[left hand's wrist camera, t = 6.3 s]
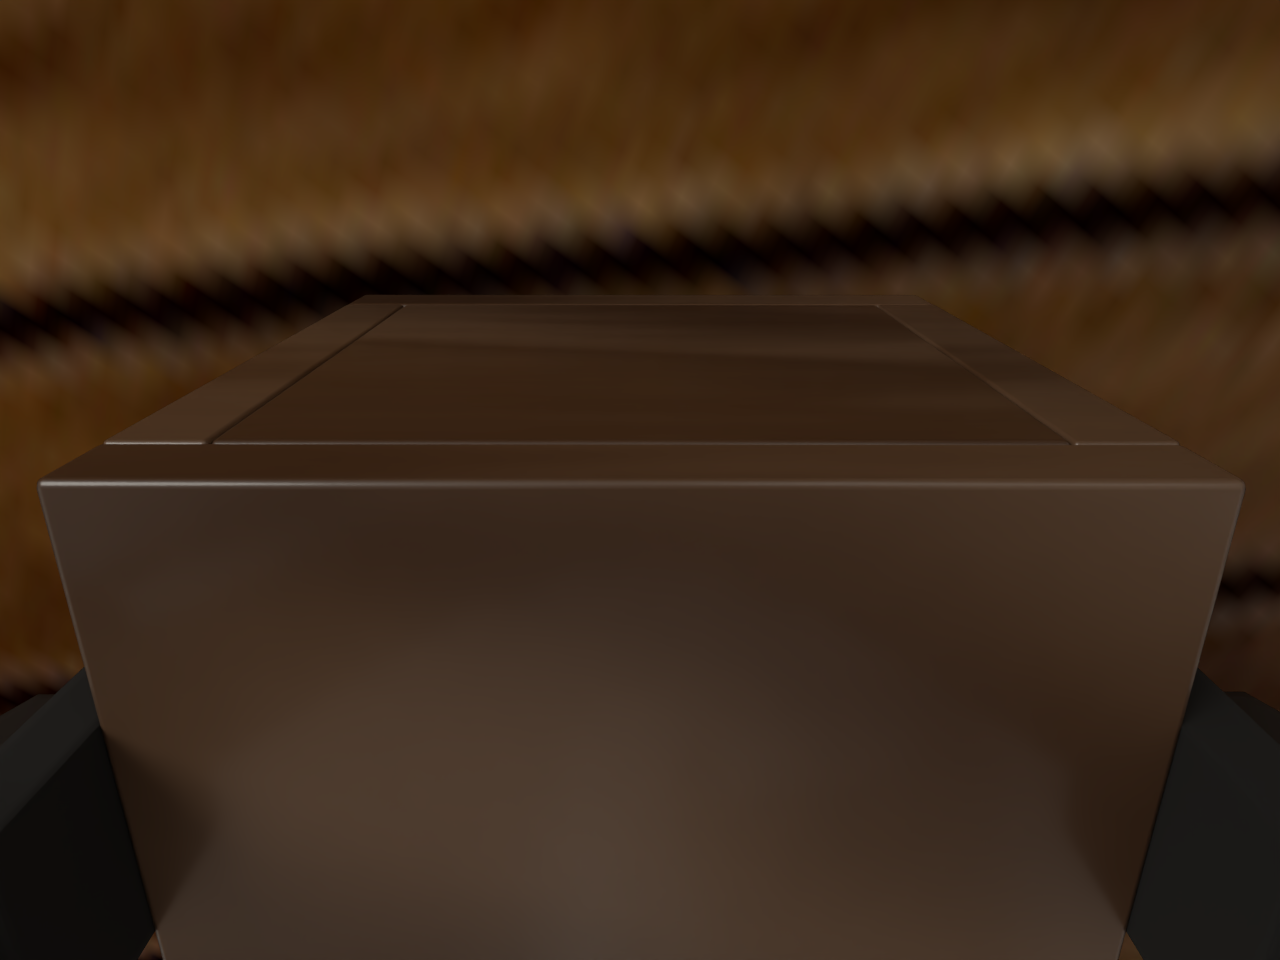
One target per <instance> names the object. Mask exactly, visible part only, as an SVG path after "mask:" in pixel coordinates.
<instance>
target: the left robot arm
mask: <svg viewBox="0 0 1280 960" xmlns="http://www.w3.org/2000/svg"><path fill="white" fill-rule="evenodd" d="M154 932H155V927H154V924H153V920H152V916H151V913H150V909H149V905H148V901H147V898H146V894H145V890H144V886H143V883H142V879H141V875H140V872H139V868H138V864H137V860H136V857H135V853H134V849H133V845H132V842H131V838H130V834H129V831H128V827H127V823H126V819H125V816H124V812H123V808H122V804H121V801H120V797H119V793H118V790H117V786H116V782H115V778H114V775H113V771H112V767H111V763H110V760H109V756H108V752H107V749H106V745H105V741H104V737H103V734H102V730H101V726H100V722H99V719H98V715H97V711H96V708H95V704H94V700H93V696H92V693H91V689H90V685H89V681H88V678H87V674H86V670H85V667H84V668H83V669H81V670H80V671H79V672H78V673H77V674H76V675H75V676H74V677H73V678H72V679H71V680H70V681H69V682H68V683H67V684H66V685H65V686H63V687H62V688H61V689H60V690H59V691H58V692H57V693H56V694H55V695H36V696H35V697H33V698H31V699H29V700H28V701H26V702H24V703H22V704H20V705H19V706H17V707H15V708H13V709H12V710H10V711H8V712H6V713H5V714H3V715H1V716H0V960H137V959H138V958H139V956H140V954H141V953H142V951H143V950H144V948H145V946H146V945H147V943H148V941H149V940H150V938H151V937H152V935H153V933H154ZM1126 932H1127V933H1128V935H1129V937H1130V938H1131V940H1132V942H1133V943H1134V945H1135V946H1136V948H1137V950H1138V951H1139V953H1140V955H1141V956H1142V958H1143V959H1144V960H1280V712H1279V711H1277V710H1275V709H1274V708H1272V707H1270V706H1268V705H1267V704H1265V703H1263V702H1261V701H1259V700H1258V699H1256V698H1254V697H1252V696H1251V695H1249V694H1247V693H1245V692H1223V691H1222V690H1221V689H1220V688H1219V687H1218V686H1216V685H1215V684H1214V683H1213V682H1212V681H1211V680H1210V679H1209V678H1208V677H1207V676H1206V675H1205V674H1204V673H1203V672H1202V671H1201V670H1200V669H1198V668H1197V671H1196V674H1195V678H1194V682H1193V685H1192V689H1191V693H1190V697H1189V700H1188V704H1187V708H1186V711H1185V715H1184V719H1183V722H1182V726H1181V730H1180V733H1179V737H1178V741H1177V744H1176V748H1175V752H1174V756H1173V759H1172V763H1171V767H1170V770H1169V774H1168V778H1167V781H1166V785H1165V789H1164V792H1163V796H1162V800H1161V804H1160V807H1159V811H1158V815H1157V818H1156V822H1155V826H1154V829H1153V833H1152V837H1151V840H1150V844H1149V848H1148V851H1147V855H1146V859H1145V863H1144V866H1143V870H1142V874H1141V877H1140V881H1139V885H1138V888H1137V892H1136V896H1135V899H1134V903H1133V907H1132V911H1131V914H1130V918H1129V922H1128V925H1127V929H1126Z"/></svg>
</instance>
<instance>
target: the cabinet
mask: <svg viewBox="0 0 1280 960" xmlns="http://www.w3.org/2000/svg"><path fill="white" fill-rule="evenodd" d="M1245 490H1246V489H1245V483H1244V481H1243V480H1242V479H1240V478H1238V477H1236V476H1234V475H1233V474H1231V473H1229V472H1227V471H1226V470H1224V469H1222V468H1220V467H1219V466H1217V465H1215V464H1213V463H1211V462H1210V461H1208V460H1206V459H1204V458H1203V457H1201V456H1199V455H1197V454H1195V453H1194V452H1192V451H1190V450H1188V449H1187V448H1185V447H1182V446H1180V445H1179V443H1178V441H1176V440H1174V439H1172V438H1170V437H1169V436H1167V435H1165V434H1163V433H1162V432H1160V431H1158V430H1156V429H1154V428H1153V427H1151V426H1149V425H1147V424H1145V423H1144V422H1142V421H1140V420H1138V419H1137V418H1135V417H1133V416H1131V415H1129V414H1128V413H1126V412H1124V411H1122V410H1120V409H1119V408H1117V407H1115V406H1113V405H1112V404H1110V403H1108V402H1106V401H1104V400H1103V399H1101V398H1099V397H1097V396H1095V395H1094V394H1092V393H1090V392H1088V391H1087V390H1085V389H1083V388H1081V387H1079V386H1078V385H1076V384H1074V383H1072V382H1071V381H1069V380H1067V379H1065V378H1063V377H1062V376H1060V375H1058V374H1056V373H1054V372H1053V371H1051V370H1049V369H1047V368H1046V367H1044V366H1042V365H1040V364H1038V363H1037V362H1035V361H1033V360H1031V359H1029V358H1028V357H1026V356H1024V355H1022V354H1021V353H1019V352H1017V351H1015V350H1013V349H1012V348H1010V347H1008V346H1006V345H1005V344H1003V343H1001V342H999V341H997V340H996V339H994V338H992V337H990V336H988V335H987V334H985V333H983V332H981V331H980V330H978V329H976V328H974V327H972V326H971V325H969V324H967V323H965V322H963V321H962V320H960V319H958V318H956V317H955V316H953V315H951V314H949V313H947V312H946V311H944V310H942V309H940V308H938V307H937V306H935V305H932V304H930V303H929V302H927V301H925V300H923V299H921V298H920V297H918V296H916V295H365V296H363V297H361V298H359V299H358V300H356V301H354V302H352V303H351V304H349V305H346V306H345V307H343V308H341V309H339V310H337V311H336V312H334V313H332V314H330V315H329V316H327V317H325V318H323V319H321V320H320V321H318V322H316V323H314V324H313V325H311V326H309V327H307V328H305V329H304V330H302V331H300V332H298V333H296V334H295V335H293V336H291V337H289V338H288V339H286V340H284V341H282V342H280V343H279V344H277V345H275V346H273V347H271V348H270V349H268V350H266V351H264V352H263V353H261V354H259V355H257V356H255V357H254V358H252V359H250V360H248V361H246V362H245V363H243V364H241V365H239V366H238V367H236V368H234V369H232V370H230V371H229V372H227V373H225V374H223V375H221V376H220V377H218V378H216V379H214V380H213V381H211V382H209V383H207V384H205V385H204V386H202V387H200V388H198V389H196V390H195V391H193V392H191V393H189V394H188V395H186V396H184V397H182V398H180V399H179V400H177V401H175V402H173V403H171V404H170V405H168V406H166V407H164V408H163V409H161V410H159V411H157V412H155V413H154V414H152V415H150V416H148V417H146V418H145V419H143V420H141V421H139V422H138V423H136V424H134V425H132V426H130V427H129V428H127V429H125V430H123V431H122V432H120V433H118V434H116V435H114V436H113V437H111V438H109V439H107V440H105V442H104V444H102V445H100V446H97V447H95V448H94V449H92V450H90V451H88V452H87V453H85V454H83V455H81V456H79V457H78V458H76V459H74V460H72V461H71V462H69V463H67V464H65V465H64V466H62V467H60V468H58V469H56V470H55V471H53V472H51V473H49V474H48V475H46V476H44V477H42V478H40V479H39V481H38V482H37V491H38V495H39V499H40V503H41V506H42V510H43V514H44V517H45V521H46V525H47V529H48V532H49V536H50V540H51V544H52V547H53V551H54V555H55V558H56V562H57V566H58V570H59V573H60V577H61V581H62V585H63V588H64V592H65V596H66V599H67V603H68V607H69V611H70V614H71V618H72V622H73V626H74V629H75V633H76V637H77V640H78V644H79V648H80V652H81V655H82V659H83V663H84V667H85V670H86V674H87V678H88V681H89V685H90V689H91V693H92V696H93V700H94V704H95V708H96V711H97V715H98V719H99V722H100V726H101V730H102V734H103V737H104V741H105V745H106V749H107V752H108V756H109V760H110V763H111V767H112V771H113V775H114V778H115V782H116V786H117V790H118V793H119V797H120V801H121V804H122V808H123V812H124V816H125V819H126V823H127V827H128V831H129V834H130V838H131V842H132V845H133V849H134V853H135V857H136V860H137V864H138V868H139V872H140V875H141V879H142V883H143V886H144V890H145V894H146V898H147V901H148V905H149V909H150V913H151V916H152V920H153V924H154V927H155V931H156V935H157V939H158V942H159V946H160V950H161V954H162V957H163V960H1118V958H1119V955H1120V951H1121V947H1122V944H1123V940H1124V936H1125V933H1126V929H1127V925H1128V922H1129V918H1130V914H1131V911H1132V907H1133V903H1134V899H1135V896H1136V892H1137V888H1138V885H1139V881H1140V877H1141V874H1142V870H1143V866H1144V863H1145V859H1146V855H1147V851H1148V848H1149V844H1150V840H1151V837H1152V833H1153V829H1154V826H1155V822H1156V818H1157V815H1158V811H1159V807H1160V804H1161V800H1162V796H1163V792H1164V789H1165V785H1166V781H1167V778H1168V774H1169V770H1170V767H1171V763H1172V759H1173V756H1174V752H1175V748H1176V744H1177V741H1178V737H1179V733H1180V730H1181V726H1182V722H1183V719H1184V715H1185V711H1186V708H1187V704H1188V700H1189V697H1190V693H1191V689H1192V685H1193V682H1194V678H1195V674H1196V671H1197V667H1198V663H1199V660H1200V656H1201V652H1202V649H1203V645H1204V641H1205V637H1206V634H1207V630H1208V626H1209V623H1210V619H1211V615H1212V612H1213V608H1214V604H1215V601H1216V597H1217V593H1218V589H1219V586H1220V582H1221V578H1222V575H1223V571H1224V567H1225V564H1226V560H1227V556H1228V553H1229V549H1230V545H1231V542H1232V538H1233V534H1234V530H1235V527H1236V523H1237V519H1238V516H1239V512H1240V508H1241V505H1242V501H1243V497H1244V494H1245Z"/></svg>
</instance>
